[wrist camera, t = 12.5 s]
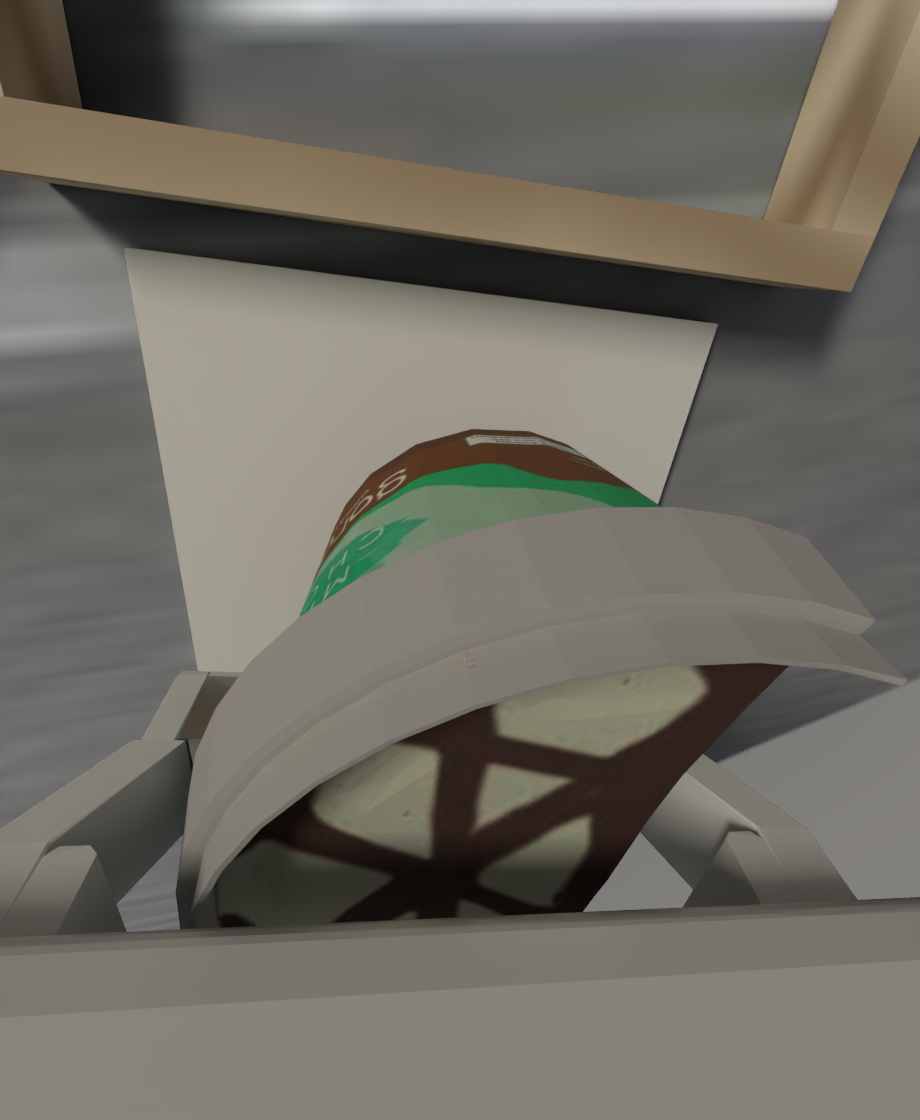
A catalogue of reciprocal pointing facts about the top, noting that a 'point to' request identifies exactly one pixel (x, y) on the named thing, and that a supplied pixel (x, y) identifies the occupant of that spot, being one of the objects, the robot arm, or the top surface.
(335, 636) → the food container
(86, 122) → the frame
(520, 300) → the mat
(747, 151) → the top surface
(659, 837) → the robot arm
